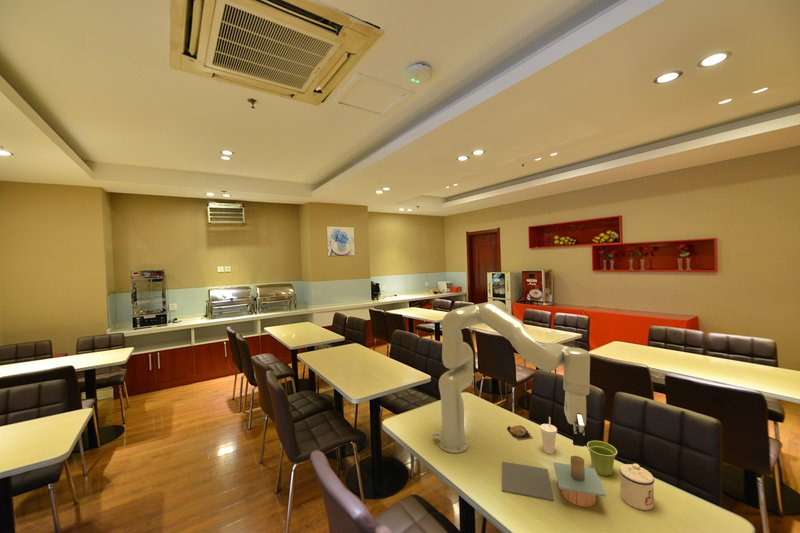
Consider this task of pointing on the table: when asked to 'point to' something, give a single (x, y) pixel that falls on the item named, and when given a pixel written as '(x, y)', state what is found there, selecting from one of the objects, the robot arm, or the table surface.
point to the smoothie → (548, 437)
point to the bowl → (579, 498)
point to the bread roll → (519, 432)
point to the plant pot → (602, 457)
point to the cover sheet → (577, 485)
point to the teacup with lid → (637, 486)
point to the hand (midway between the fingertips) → (575, 437)
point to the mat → (526, 481)
